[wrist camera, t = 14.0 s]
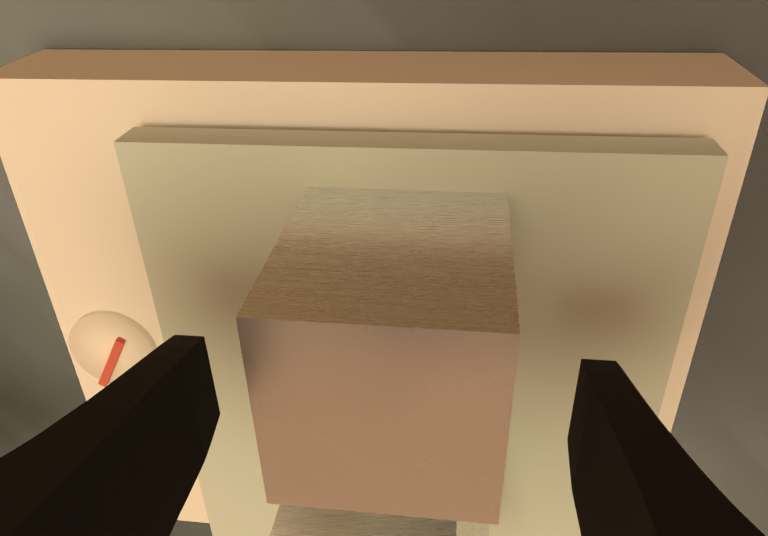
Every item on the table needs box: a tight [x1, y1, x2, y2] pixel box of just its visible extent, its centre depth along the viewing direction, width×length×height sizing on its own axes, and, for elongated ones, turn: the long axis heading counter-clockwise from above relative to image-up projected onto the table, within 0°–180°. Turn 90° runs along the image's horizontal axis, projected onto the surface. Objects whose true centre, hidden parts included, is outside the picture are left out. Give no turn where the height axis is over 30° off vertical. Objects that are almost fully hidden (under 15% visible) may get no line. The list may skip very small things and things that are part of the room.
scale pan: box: [114, 127, 729, 536], centre depth 18 cm, size 13×14×1 cm
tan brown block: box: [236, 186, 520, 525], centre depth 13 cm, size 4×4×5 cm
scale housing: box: [0, 49, 768, 523], centre depth 20 cm, size 18×16×4 cm
